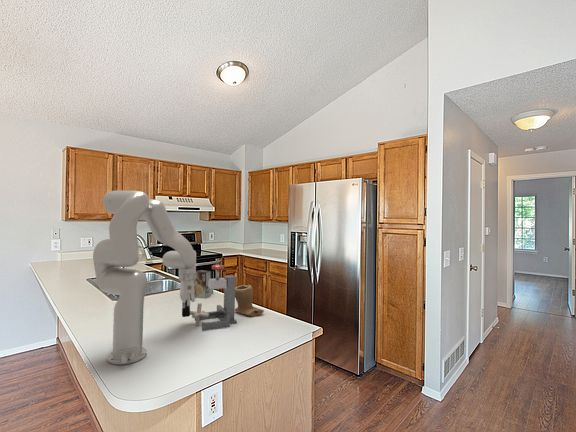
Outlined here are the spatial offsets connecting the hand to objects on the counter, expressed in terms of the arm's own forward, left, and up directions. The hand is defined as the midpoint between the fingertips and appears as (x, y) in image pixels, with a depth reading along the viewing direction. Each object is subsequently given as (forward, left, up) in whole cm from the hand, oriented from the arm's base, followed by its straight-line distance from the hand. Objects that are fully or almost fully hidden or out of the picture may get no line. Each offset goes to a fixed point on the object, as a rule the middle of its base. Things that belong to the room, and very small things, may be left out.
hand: (185, 316), depth 143 cm
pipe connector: (0, -5, -5) cm, 7 cm away
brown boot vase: (+6, -33, -5) cm, 34 cm away
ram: (0, -14, +9) cm, 17 cm away
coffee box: (+50, -20, -5) cm, 54 cm away
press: (0, -14, -5) cm, 15 cm away
